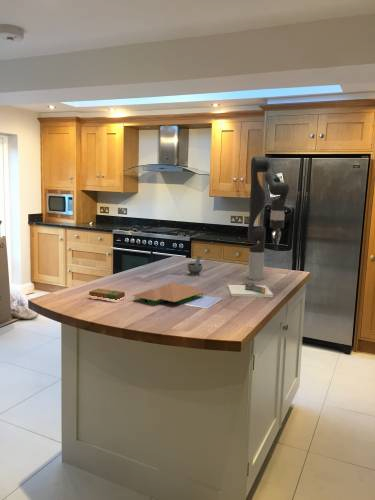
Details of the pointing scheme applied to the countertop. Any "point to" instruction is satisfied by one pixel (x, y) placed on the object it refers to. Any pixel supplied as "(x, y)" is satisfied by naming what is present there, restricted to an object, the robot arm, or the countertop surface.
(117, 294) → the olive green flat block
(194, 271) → the mortar and pestle
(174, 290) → the wooden board
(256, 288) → the metal serving spoon
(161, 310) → the countertop surface
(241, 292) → the dial plate
